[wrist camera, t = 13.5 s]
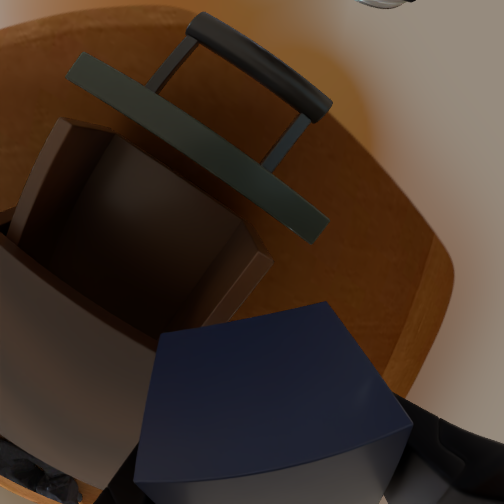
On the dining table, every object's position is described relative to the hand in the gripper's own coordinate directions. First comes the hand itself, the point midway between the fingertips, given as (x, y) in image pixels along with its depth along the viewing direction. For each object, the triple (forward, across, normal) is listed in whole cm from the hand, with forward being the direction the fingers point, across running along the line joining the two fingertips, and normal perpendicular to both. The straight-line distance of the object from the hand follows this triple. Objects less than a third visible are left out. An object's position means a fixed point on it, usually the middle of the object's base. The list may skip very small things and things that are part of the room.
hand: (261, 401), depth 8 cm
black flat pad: (+12, +37, +23) cm, 45 cm away
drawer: (+11, +3, -5) cm, 12 cm away
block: (+1, 0, 0) cm, 1 cm away
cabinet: (+12, +11, +3) cm, 16 cm away
